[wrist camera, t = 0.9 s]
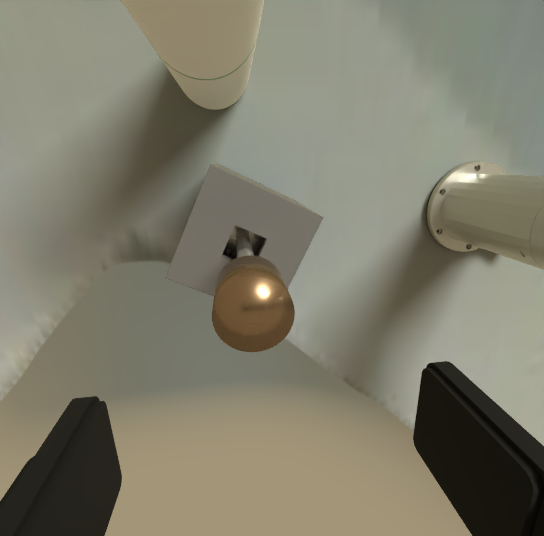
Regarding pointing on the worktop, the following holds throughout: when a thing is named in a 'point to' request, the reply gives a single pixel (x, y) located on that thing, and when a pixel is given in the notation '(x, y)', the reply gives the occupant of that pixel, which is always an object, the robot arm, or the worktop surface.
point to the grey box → (248, 215)
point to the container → (203, 44)
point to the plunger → (250, 297)
